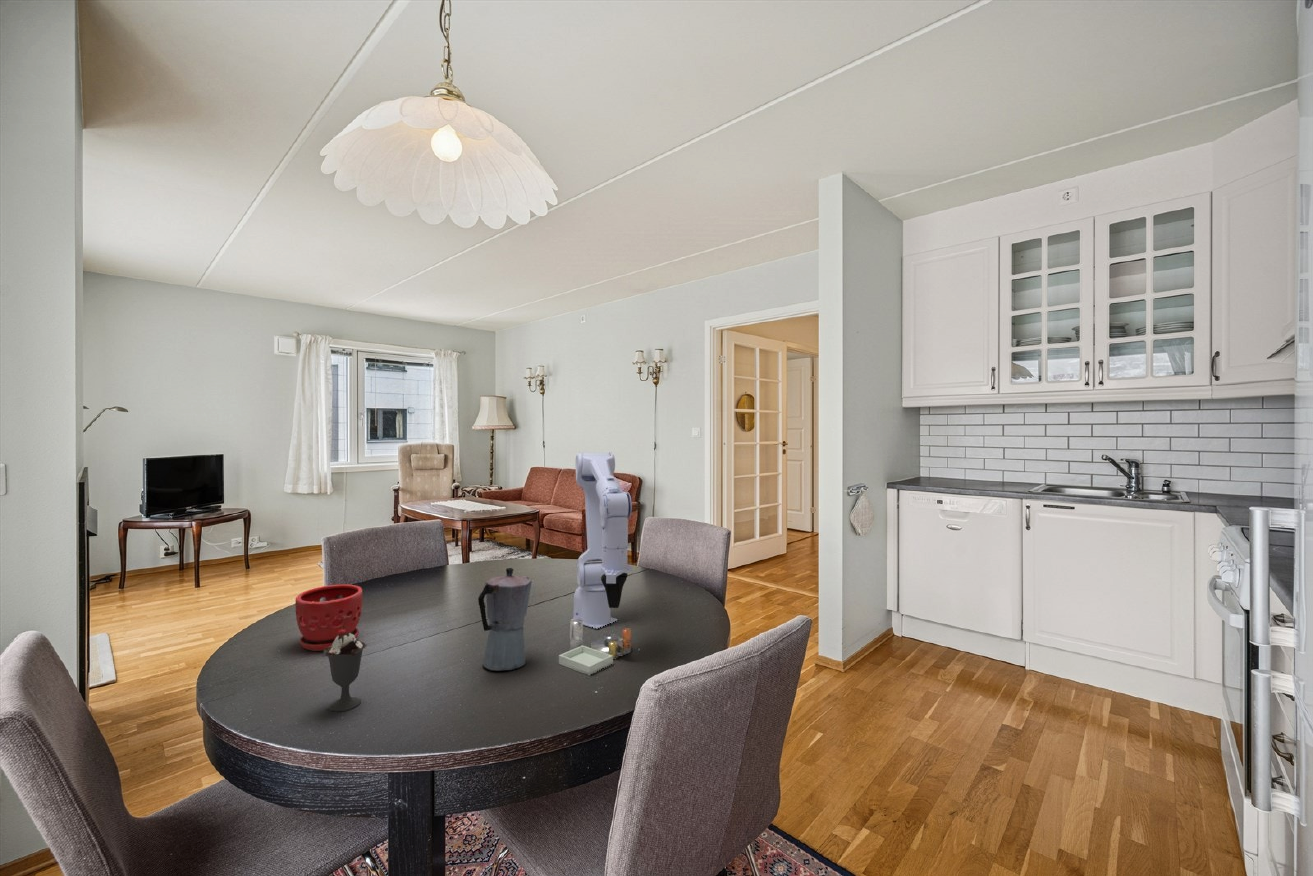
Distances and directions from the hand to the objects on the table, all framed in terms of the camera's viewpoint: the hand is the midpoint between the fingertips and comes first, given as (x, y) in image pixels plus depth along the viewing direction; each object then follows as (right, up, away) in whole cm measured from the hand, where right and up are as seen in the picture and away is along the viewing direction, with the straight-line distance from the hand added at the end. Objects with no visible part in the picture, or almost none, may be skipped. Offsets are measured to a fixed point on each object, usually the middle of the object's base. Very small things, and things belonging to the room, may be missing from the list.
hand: (614, 607), depth 121 cm
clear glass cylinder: (-9, -10, 0) cm, 13 cm away
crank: (+1, -8, -2) cm, 9 cm away
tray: (-5, -10, -7) cm, 13 cm away
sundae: (-46, -10, -25) cm, 53 cm away
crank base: (-1, -10, +1) cm, 10 cm away
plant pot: (-65, -9, +2) cm, 66 cm away
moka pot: (-22, -10, -8) cm, 26 cm away
